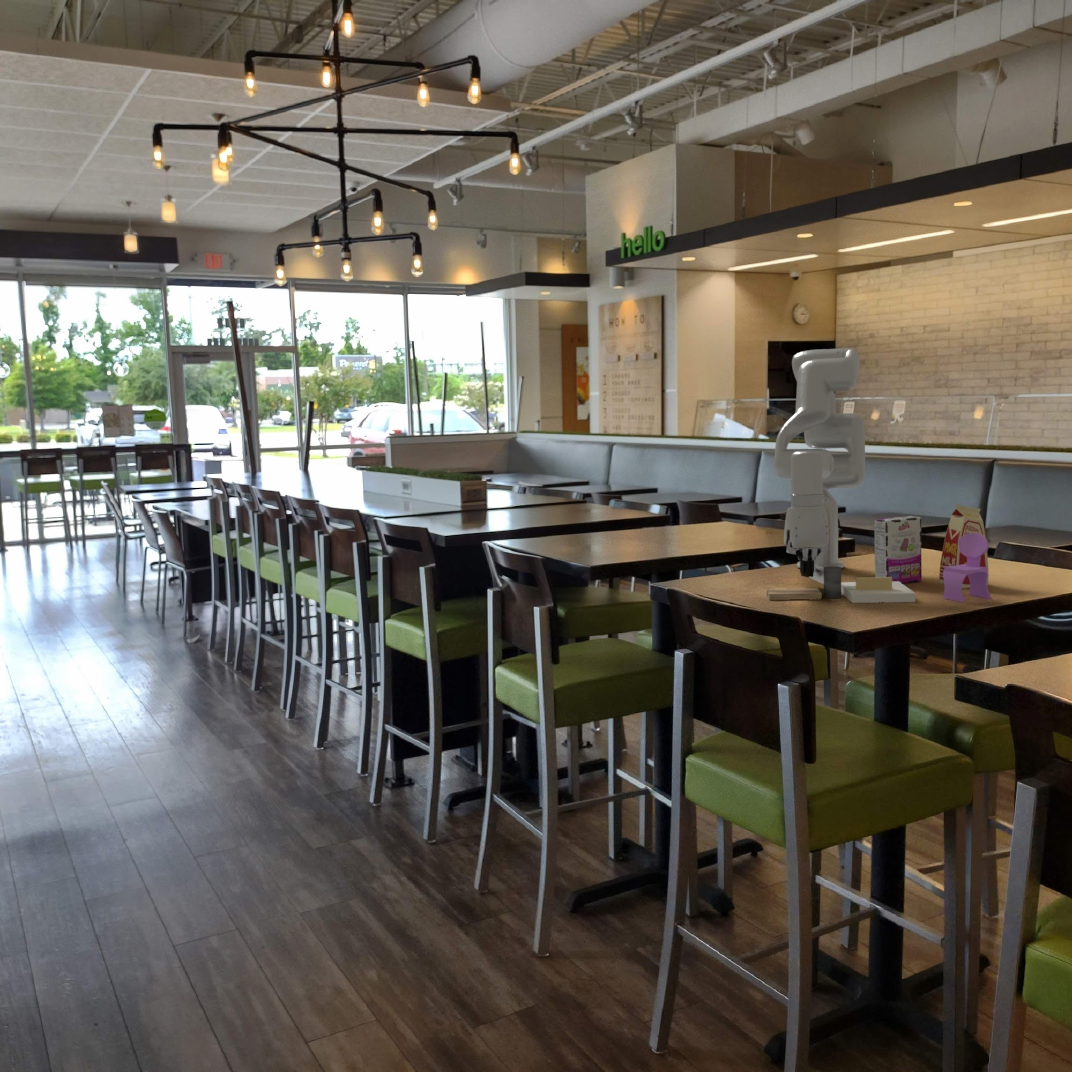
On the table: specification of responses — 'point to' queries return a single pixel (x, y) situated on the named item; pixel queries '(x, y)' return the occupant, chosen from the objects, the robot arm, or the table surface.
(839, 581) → the jamb
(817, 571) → the swing bar
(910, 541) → the candy bar box
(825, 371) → the robot arm
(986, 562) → the milk carton
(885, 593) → the butter dish
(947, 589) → the toy chair
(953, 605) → the table surface
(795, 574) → the table surface
